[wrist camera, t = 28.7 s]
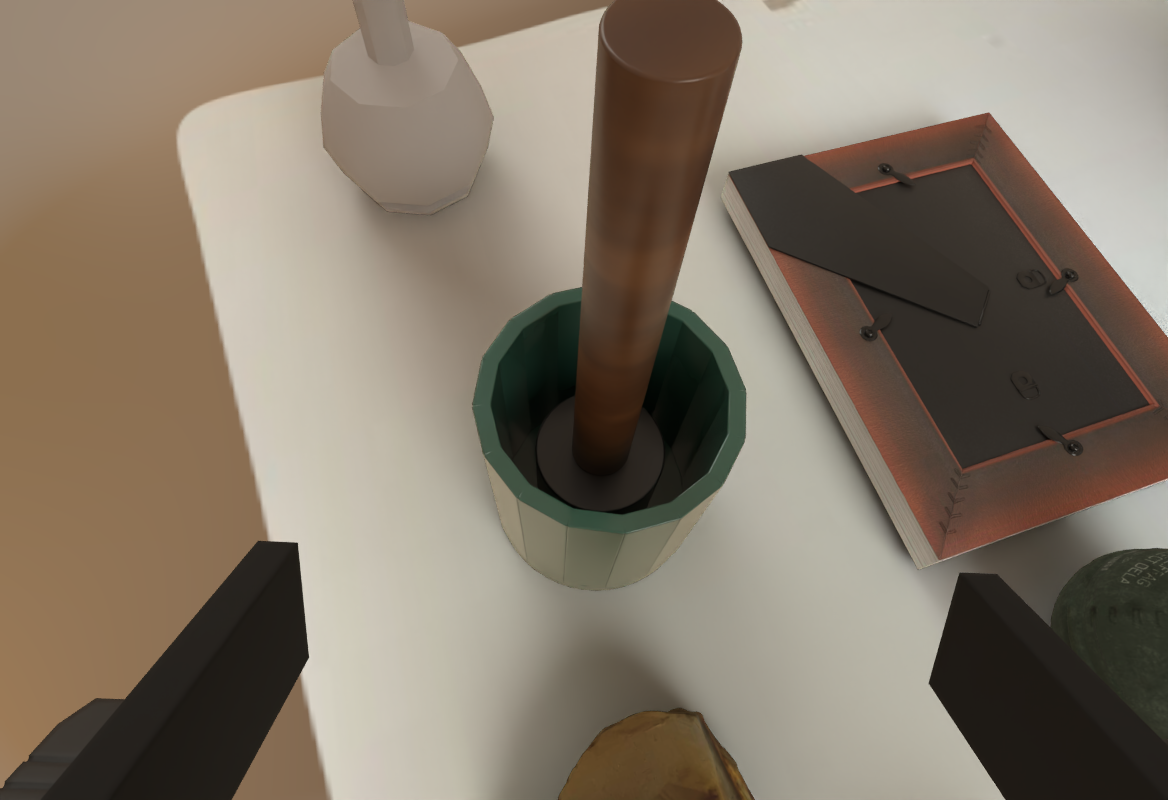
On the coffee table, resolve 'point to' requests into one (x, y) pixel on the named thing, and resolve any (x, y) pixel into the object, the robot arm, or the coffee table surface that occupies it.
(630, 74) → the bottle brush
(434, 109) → the potion bottle
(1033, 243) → the picture frame
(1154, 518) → the coffee table surface
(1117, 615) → the grenade
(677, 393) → the green cylindrical container
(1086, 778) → the robot arm
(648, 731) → the decorative stone
